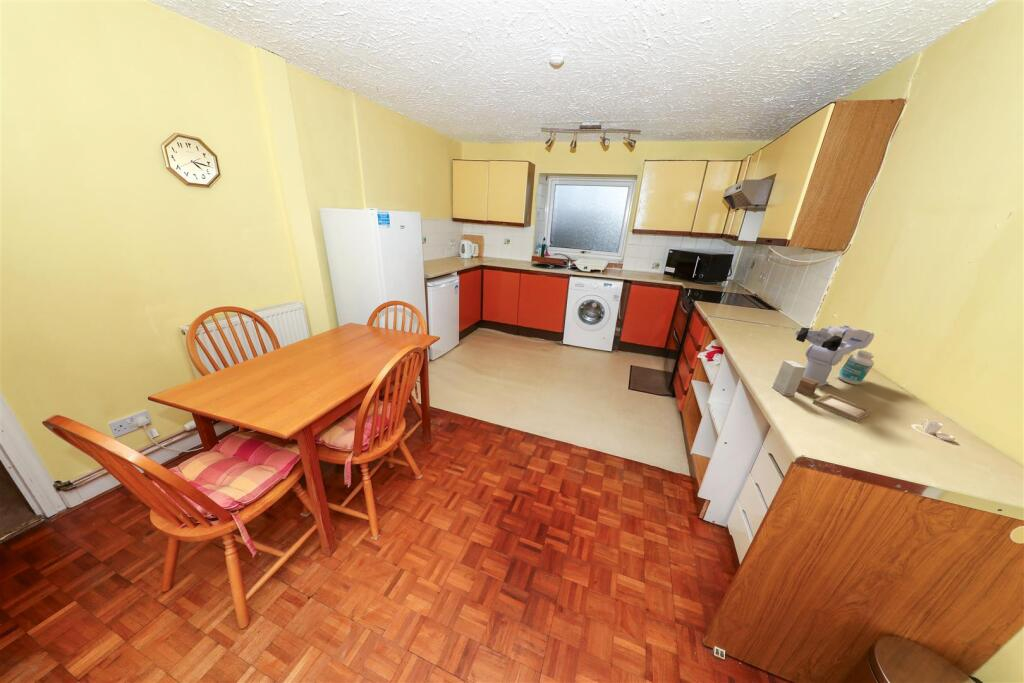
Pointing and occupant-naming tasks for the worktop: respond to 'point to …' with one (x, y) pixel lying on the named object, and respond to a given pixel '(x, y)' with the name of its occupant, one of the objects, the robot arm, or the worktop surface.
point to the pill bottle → (856, 367)
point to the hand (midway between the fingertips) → (810, 340)
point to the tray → (842, 407)
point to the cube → (807, 386)
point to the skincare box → (788, 378)
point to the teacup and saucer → (933, 430)
